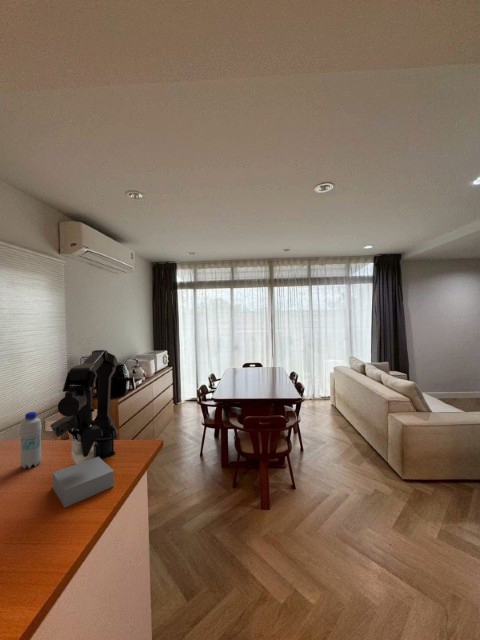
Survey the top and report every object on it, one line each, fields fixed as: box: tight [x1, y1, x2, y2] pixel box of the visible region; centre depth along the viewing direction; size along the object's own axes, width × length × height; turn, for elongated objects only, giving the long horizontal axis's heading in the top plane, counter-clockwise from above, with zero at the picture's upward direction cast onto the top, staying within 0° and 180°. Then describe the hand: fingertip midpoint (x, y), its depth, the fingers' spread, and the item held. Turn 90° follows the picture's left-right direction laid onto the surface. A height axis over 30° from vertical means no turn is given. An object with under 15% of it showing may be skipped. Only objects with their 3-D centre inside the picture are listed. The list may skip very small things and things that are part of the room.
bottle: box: [19, 411, 43, 469], centre depth 103 cm, size 7×7×20 cm
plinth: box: [52, 457, 115, 508], centre depth 89 cm, size 14×14×5 cm
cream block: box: [71, 439, 95, 464], centre depth 89 cm, size 5×5×6 cm
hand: (82, 453), depth 89 cm, fingers closed on cream block, 5 cm apart
